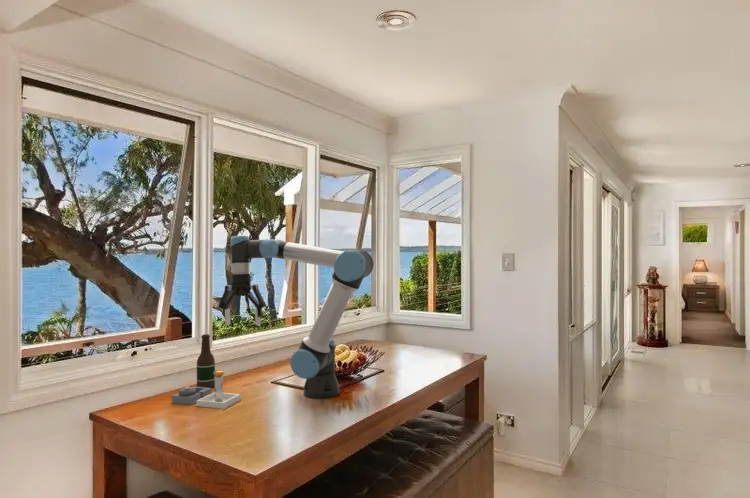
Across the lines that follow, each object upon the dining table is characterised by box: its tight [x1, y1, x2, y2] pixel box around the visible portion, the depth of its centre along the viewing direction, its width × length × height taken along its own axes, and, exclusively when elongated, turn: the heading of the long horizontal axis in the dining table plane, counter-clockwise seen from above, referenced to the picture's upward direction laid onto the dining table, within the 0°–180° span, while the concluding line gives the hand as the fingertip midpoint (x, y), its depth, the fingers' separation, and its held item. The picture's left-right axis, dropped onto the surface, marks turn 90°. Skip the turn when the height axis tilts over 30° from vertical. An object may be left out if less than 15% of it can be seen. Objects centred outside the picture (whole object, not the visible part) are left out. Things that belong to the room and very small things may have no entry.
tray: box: [195, 391, 242, 412], centre depth 191 cm, size 12×12×3 cm
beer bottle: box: [196, 333, 216, 389], centre depth 213 cm, size 8×8×24 cm
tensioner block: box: [171, 386, 213, 406], centre depth 196 cm, size 13×9×7 cm
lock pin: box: [214, 369, 225, 402], centre depth 191 cm, size 4×4×12 cm
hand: (242, 324), depth 200 cm, fingers open, 13 cm apart
